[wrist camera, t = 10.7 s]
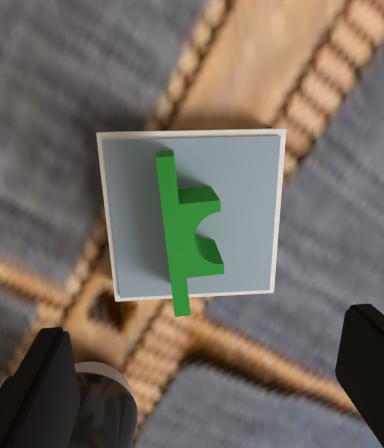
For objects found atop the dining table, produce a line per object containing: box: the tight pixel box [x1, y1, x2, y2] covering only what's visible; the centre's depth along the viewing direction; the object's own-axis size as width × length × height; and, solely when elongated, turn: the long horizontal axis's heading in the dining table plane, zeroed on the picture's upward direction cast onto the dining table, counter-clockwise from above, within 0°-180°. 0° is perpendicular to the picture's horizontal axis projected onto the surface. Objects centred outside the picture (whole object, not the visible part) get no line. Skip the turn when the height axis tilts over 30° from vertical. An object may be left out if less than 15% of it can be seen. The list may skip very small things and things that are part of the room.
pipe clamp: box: [156, 150, 224, 317], centre depth 22 cm, size 11×4×5 cm, turn 5°
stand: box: [96, 128, 286, 301], centre depth 25 cm, size 14×14×3 cm
